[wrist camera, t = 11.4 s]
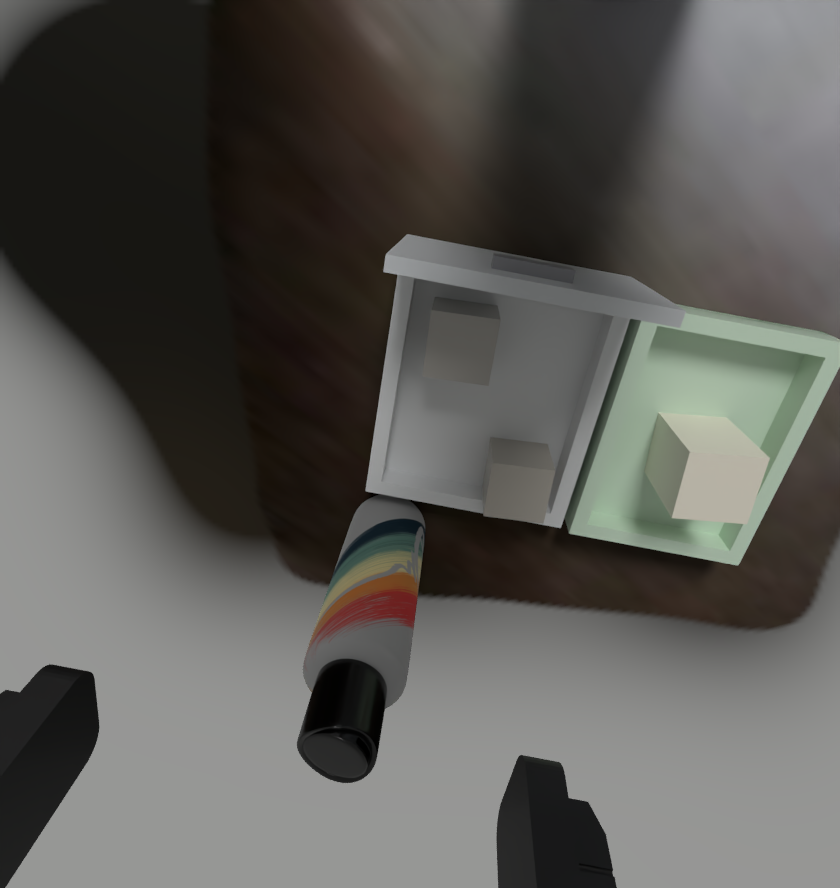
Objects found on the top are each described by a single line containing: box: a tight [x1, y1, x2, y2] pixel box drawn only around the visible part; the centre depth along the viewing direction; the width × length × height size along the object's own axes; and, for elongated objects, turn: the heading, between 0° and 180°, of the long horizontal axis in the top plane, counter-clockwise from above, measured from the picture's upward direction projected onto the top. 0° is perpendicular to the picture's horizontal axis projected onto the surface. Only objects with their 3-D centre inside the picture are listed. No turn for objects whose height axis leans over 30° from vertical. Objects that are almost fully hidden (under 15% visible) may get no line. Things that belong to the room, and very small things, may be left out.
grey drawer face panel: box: [383, 234, 686, 328], centre depth 31 cm, size 1×14×10 cm, turn 80°
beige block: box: [644, 412, 770, 524], centre depth 36 cm, size 4×4×6 cm
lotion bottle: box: [297, 495, 425, 783], centre depth 35 cm, size 6×6×20 cm
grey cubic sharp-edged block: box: [422, 297, 501, 386], centre depth 35 cm, size 4×4×4 cm
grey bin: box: [366, 275, 630, 528], centre depth 38 cm, size 16×14×2 cm
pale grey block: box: [482, 437, 555, 524], centre depth 39 cm, size 4×4×4 cm
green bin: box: [564, 304, 840, 565], centre depth 38 cm, size 16×12×3 cm
